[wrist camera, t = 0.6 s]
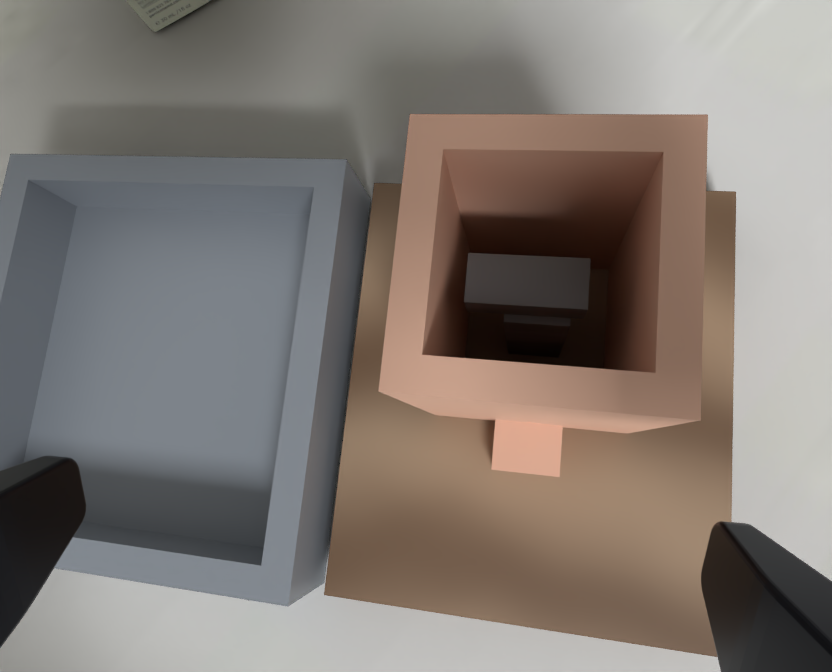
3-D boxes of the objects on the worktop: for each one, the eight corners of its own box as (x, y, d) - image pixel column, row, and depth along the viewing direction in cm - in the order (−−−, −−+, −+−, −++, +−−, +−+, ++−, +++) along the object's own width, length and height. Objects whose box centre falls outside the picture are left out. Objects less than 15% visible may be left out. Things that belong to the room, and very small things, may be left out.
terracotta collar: (625, 483, 18) (698, 505, 11) (430, 461, 20) (369, 468, 12) (635, 247, 20) (707, 114, 12) (452, 239, 21) (409, 113, 13)
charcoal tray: (324, 582, 21) (288, 606, 18) (2, 533, 23) (-81, 546, 20) (370, 199, 23) (346, 159, 20) (74, 190, 26) (10, 153, 22)
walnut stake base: (713, 642, 19) (835, 764, 11) (338, 584, 21) (238, 656, 14) (721, 209, 21) (825, 81, 14) (383, 199, 23) (319, 84, 16)
